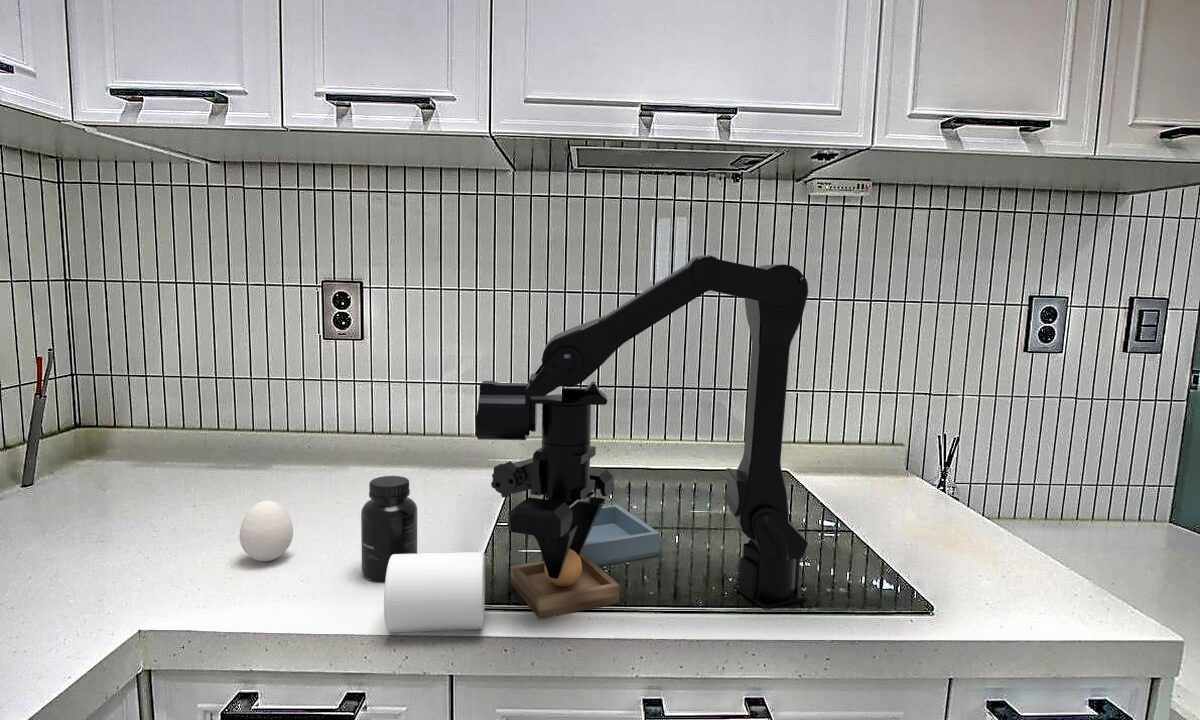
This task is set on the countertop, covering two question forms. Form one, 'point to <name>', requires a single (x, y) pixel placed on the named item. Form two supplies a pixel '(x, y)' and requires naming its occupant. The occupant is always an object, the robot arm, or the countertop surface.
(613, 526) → the dish
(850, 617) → the countertop surface
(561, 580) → the ball
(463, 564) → the mug
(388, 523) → the supplement bottle
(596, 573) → the tray
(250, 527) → the egg
